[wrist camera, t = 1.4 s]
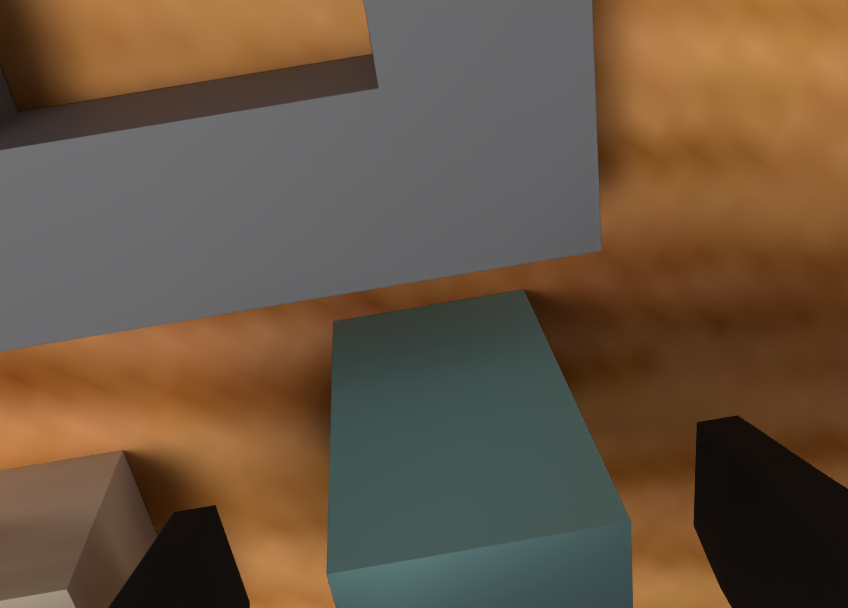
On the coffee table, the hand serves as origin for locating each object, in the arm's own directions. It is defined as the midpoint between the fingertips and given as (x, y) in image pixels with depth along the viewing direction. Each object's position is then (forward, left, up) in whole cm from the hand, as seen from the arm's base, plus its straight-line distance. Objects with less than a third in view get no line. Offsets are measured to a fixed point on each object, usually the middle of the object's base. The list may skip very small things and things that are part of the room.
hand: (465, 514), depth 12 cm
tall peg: (0, 0, -4) cm, 4 cm away
